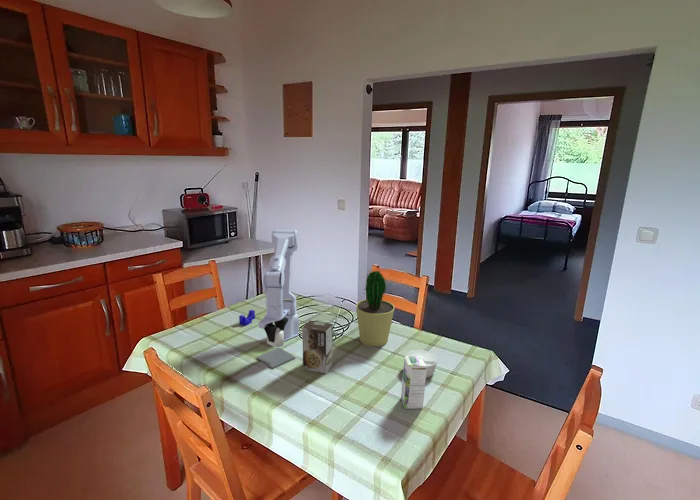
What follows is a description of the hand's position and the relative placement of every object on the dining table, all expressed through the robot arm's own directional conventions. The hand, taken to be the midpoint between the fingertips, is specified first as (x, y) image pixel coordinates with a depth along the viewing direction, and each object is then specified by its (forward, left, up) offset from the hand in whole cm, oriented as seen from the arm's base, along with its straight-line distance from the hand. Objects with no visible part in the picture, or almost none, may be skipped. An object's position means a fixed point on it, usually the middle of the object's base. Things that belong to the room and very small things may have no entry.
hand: (275, 339), depth 135 cm
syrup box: (-14, +50, -8) cm, 52 cm away
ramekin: (-31, +42, -8) cm, 53 cm away
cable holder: (-10, -34, -8) cm, 36 cm away
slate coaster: (0, 0, -8) cm, 8 cm away
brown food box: (-7, +15, -8) cm, 18 cm away
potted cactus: (-37, +16, -8) cm, 41 cm away
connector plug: (0, 0, -2) cm, 2 cm away
